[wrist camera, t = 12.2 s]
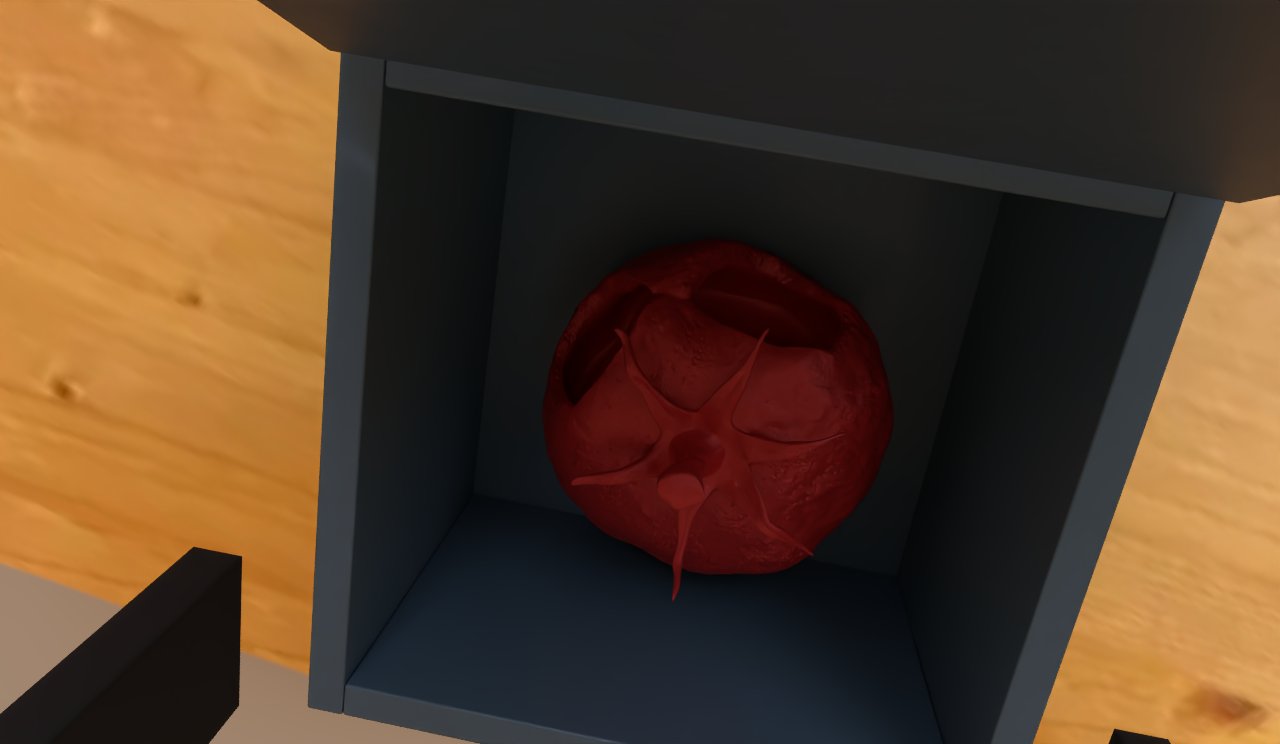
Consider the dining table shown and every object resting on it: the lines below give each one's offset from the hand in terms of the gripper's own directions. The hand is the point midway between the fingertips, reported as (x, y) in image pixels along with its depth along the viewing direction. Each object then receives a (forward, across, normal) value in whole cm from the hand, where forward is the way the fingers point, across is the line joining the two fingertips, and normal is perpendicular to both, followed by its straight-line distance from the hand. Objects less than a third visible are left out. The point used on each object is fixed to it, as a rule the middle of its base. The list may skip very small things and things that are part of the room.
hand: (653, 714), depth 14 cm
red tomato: (+18, 0, 0) cm, 18 cm away
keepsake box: (+18, 0, +1) cm, 18 cm away
